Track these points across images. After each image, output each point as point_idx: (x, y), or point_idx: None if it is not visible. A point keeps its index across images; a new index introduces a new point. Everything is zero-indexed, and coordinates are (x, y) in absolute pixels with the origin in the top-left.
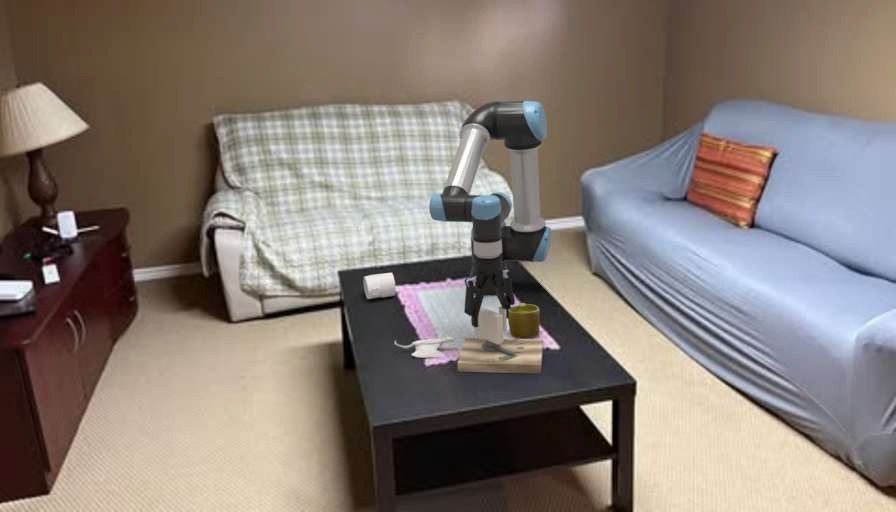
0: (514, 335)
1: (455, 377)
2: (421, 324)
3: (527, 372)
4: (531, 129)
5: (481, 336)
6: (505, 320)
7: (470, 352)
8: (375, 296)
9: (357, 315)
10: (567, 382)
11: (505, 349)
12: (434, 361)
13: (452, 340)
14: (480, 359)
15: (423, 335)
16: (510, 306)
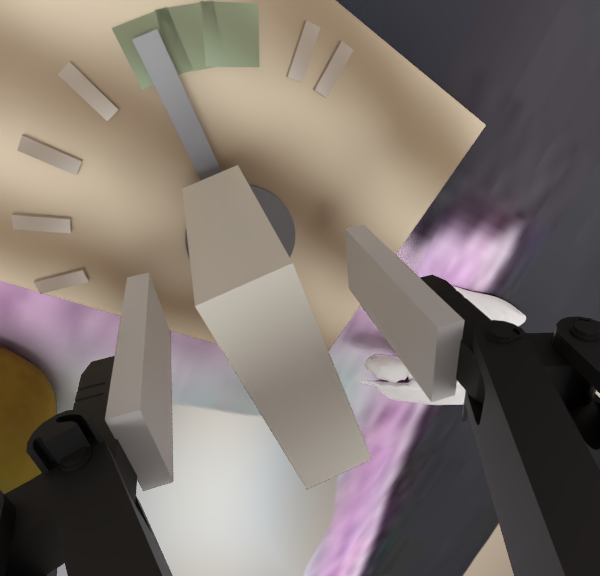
0: (40, 374)
1: (499, 54)
2: (359, 512)
3: None
4: None
5: (354, 234)
6: (131, 330)
7: (367, 220)
8: None
9: (467, 559)
10: None
11: (183, 131)
12: (474, 257)
13: (381, 357)
14: (365, 106)
15: (393, 450)
16: (32, 446)
